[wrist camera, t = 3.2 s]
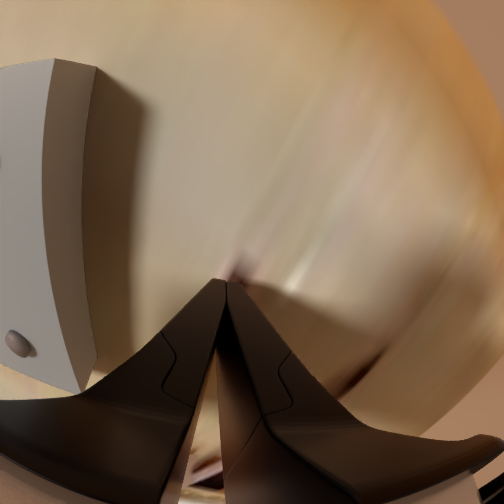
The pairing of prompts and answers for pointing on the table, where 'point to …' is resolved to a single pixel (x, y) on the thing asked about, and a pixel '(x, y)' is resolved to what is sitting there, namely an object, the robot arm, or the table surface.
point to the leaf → (44, 222)
